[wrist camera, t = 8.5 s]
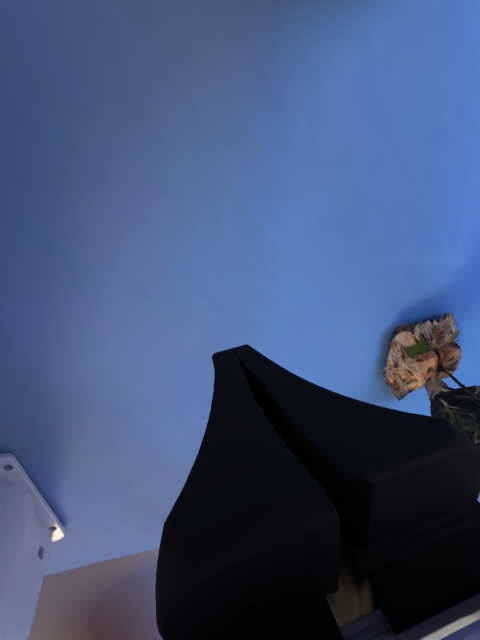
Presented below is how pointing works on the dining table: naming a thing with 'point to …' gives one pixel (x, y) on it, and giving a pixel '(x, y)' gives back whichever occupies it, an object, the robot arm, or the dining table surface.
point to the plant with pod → (433, 372)
